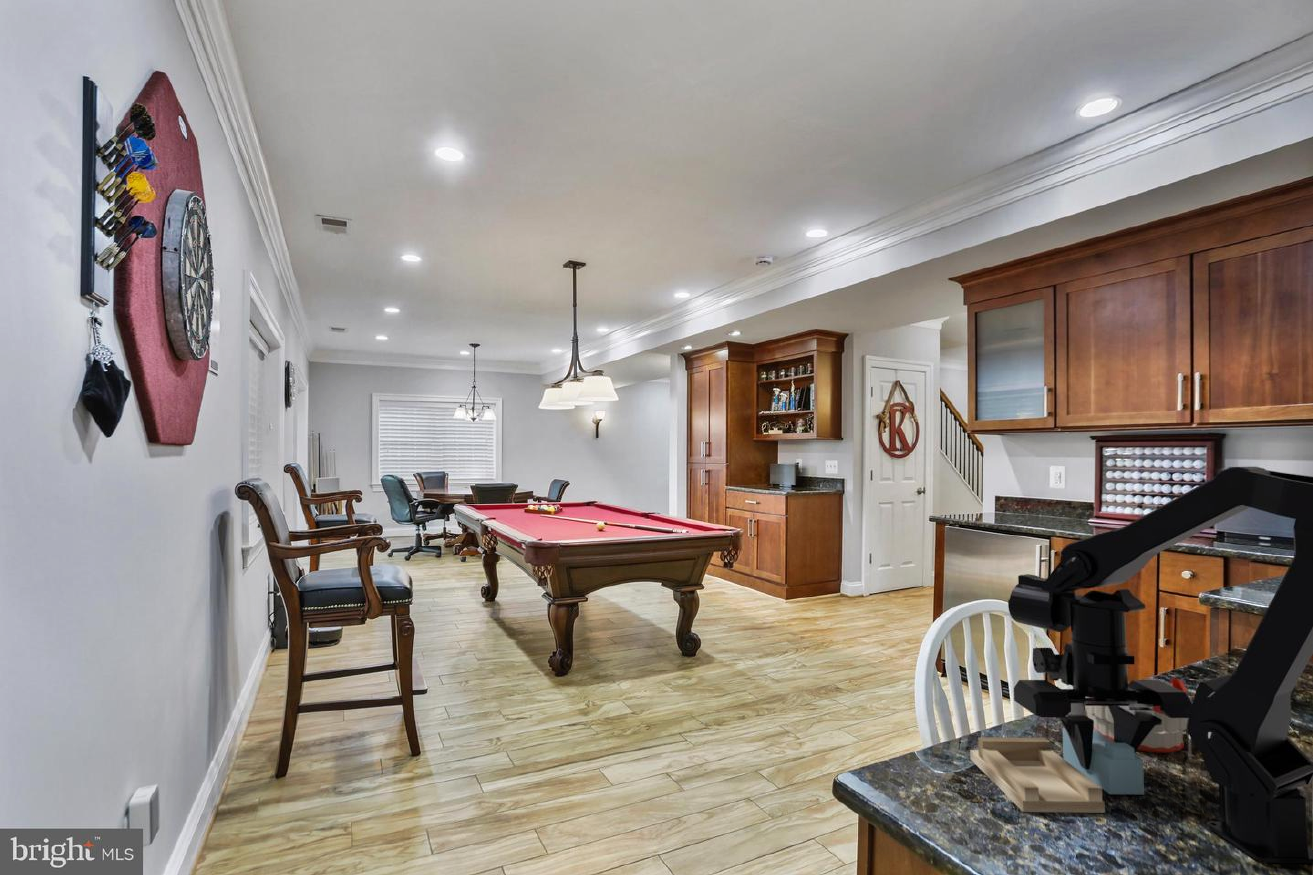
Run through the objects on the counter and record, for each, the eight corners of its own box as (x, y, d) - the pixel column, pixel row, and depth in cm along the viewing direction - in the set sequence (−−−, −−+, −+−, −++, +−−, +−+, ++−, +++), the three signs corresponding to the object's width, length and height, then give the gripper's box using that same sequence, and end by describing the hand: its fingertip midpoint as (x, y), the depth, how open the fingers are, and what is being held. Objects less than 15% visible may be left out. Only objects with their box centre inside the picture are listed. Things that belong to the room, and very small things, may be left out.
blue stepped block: (1144, 794, 76) (1142, 749, 76) (1109, 793, 76) (1107, 748, 76) (1094, 759, 85) (1093, 719, 85) (1063, 759, 85) (1062, 719, 85)
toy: (1089, 747, 89) (1087, 688, 90) (1080, 720, 98) (1078, 667, 99) (1205, 766, 83) (1202, 703, 84) (1184, 735, 93) (1182, 679, 93)
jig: (1104, 812, 72) (1103, 779, 72) (1023, 811, 73) (1022, 779, 73) (1039, 759, 85) (1038, 731, 85) (970, 759, 86) (969, 731, 86)
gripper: (1129, 625, 89) (1133, 740, 88) (991, 624, 89) (994, 740, 89) (1194, 648, 78) (1199, 780, 77) (1036, 647, 78) (1040, 779, 77)
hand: (1102, 768), depth 80 cm, fingers closed on blue stepped block, 4 cm apart
